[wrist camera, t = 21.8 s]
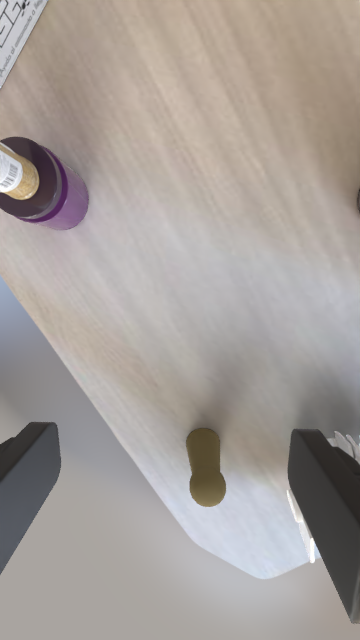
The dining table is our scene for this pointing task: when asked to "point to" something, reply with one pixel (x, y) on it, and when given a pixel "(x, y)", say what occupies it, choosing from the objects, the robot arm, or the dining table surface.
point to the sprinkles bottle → (17, 175)
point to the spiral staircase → (338, 441)
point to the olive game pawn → (205, 467)
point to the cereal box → (16, 29)
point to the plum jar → (47, 189)
